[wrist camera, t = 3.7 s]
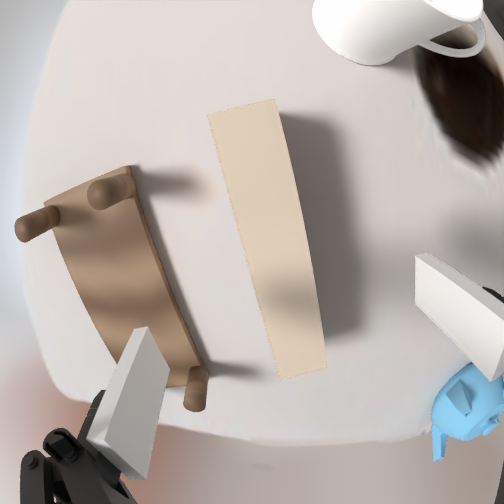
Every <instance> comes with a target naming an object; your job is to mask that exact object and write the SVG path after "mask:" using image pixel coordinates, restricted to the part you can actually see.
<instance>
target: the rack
mask: <svg viewBox="0 0 504 504" xmlns="http://www.w3.org/2000/svg"><path fill="white" fill-rule="evenodd" d="M44 205H45V207H44V208H42V209H39V210H37V211H34V212H32V213H29V214H27V215H25V216H22V217H20V218H18V219H17V220H16V222H15V233H16V236H17V238H18V239H19V240H20V241H21V242H24V243H25V242H28V241H30V240H31V239H33V238H35V237H37V236H39V235H41V234H42V233H44V232H46V231H48V230H50V229H52V230H53V232H54V235H55V238H56V241H57V243H58V246H59V249H60V251H61V254H62V256H63V259H64V261H65V264H66V266H67V268H68V271H69V273H70V275H71V278H72V280H73V282H74V284H75V287H76V289H77V291H78V293H79V295H80V297H81V299H82V301H83V303H84V306H85V308H86V310H87V312H88V313H89V315H90V317H91V319H92V321H93V323H94V325H95V327H96V329H97V331H98V332H99V334H100V336H101V338H102V340H103V341H104V343H105V345H106V347H107V348H108V350H109V352H110V353H111V355H112V357H113V358H114V360H115V362H116V363H117V364H118V362H119V360H120V358H121V356H122V353H123V351H124V349H125V347H126V345H127V343H128V341H129V339H130V337H131V335H132V333H133V330H134V329H137V328H142V327H147V326H148V328H149V330H150V332H151V334H152V336H153V338H154V340H155V342H156V344H157V346H158V347H159V349H160V351H161V353H162V355H163V357H164V359H165V361H166V363H167V364H168V366H169V368H170V371H169V375H168V379H167V384H166V388H168V387H176V386H184V385H186V391H185V396H184V402H183V405H184V407H185V408H186V409H187V410H189V411H192V412H200V411H203V410H204V409H205V406H206V395H207V385H208V379H209V373H208V370H207V369H206V368H205V366H204V364H203V362H202V360H201V358H200V356H199V354H198V351H197V349H196V347H195V345H194V343H193V340H192V338H191V336H190V334H189V331H188V329H187V327H186V325H185V322H184V320H183V318H182V315H181V313H180V310H179V308H178V306H177V303H176V301H175V298H174V296H173V293H172V291H171V288H170V286H169V283H168V281H167V278H166V275H165V273H164V270H163V268H162V265H161V262H160V260H159V257H158V254H157V251H156V249H155V246H154V243H153V240H152V237H151V234H150V231H149V228H148V226H147V223H146V220H145V217H144V213H143V210H142V207H141V204H140V201H139V198H138V195H137V191H136V183H135V180H134V179H133V177H132V175H131V171H130V168H129V165H128V166H123V167H121V168H118V169H116V170H113V171H111V172H108V173H106V174H104V175H101V176H99V177H97V178H94V179H92V180H90V181H87V182H85V183H83V184H81V185H78V186H76V187H74V188H72V189H70V190H68V191H66V192H63V193H61V194H59V195H57V196H55V197H53V198H51V199H49V200H47V201H45V202H44Z"/></svg>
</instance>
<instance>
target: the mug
mask: <svg viewBox="0 0 504 504" xmlns="http://www.w3.org/2000/svg"><path fill="white" fill-rule="evenodd" d="M482 12H483V0H316V1H315V3H314V6H313V11H312V15H313V21H314V25H315V27H316V29H317V31H318V33H319V35H320V36H321V38H322V39H323V40H324V41H325V42H326V44H327V45H328V46H329V47H331V48H332V49H333V50H334V51H335V52H337V53H338V54H340V55H341V56H343V57H345V58H346V59H348V60H351V61H353V62H356V63H359V64H363V65H382V64H385V63H388V62H390V61H391V60H393V59H394V58H395V57H396V56H397V55H398V54H400V53H401V52H403V51H405V50H408V49H410V48H412V47H414V46H416V45H420V46H422V47H424V48H427V49H429V50H431V51H434V52H437V53H440V54H443V55H447V56H452V57H470V56H474V55H476V54H478V53H479V52H480V51H481V50H482V49H483V48H484V46H485V43H486V31H485V28H484V25H483V23H482V21H481V19H480V17H481V15H482ZM469 23H470V24H471V25H472V26H473V28H474V29H475V31H476V33H477V37H478V41H477V44H476V45H475V46H474V47H472V48H469V49H452V48H448V47H444V46H441V45H438V44H436V43H434V42H432V41H430V40H429V39H432V38H434V37H436V36H439V35H441V34H443V33H446V32H448V31H451V30H453V29H456V28H458V27H461V26H463V25H466V24H469Z"/></svg>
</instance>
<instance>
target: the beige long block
mask: <svg viewBox="0 0 504 504" xmlns="http://www.w3.org/2000/svg"><path fill="white" fill-rule="evenodd" d="M207 117H208V121H209V124H210V128H211V132H212V136H213V139H214V143H215V147H216V151H217V154H218V158H219V162H220V166H221V169H222V173H223V177H224V180H225V184H226V188H227V192H228V195H229V199H230V203H231V206H232V210H233V214H234V217H235V221H236V225H237V228H238V232H239V236H240V239H241V243H242V247H243V250H244V254H245V257H246V261H247V265H248V268H249V272H250V276H251V279H252V283H253V286H254V290H255V294H256V297H257V301H258V304H259V308H260V311H261V315H262V319H263V322H264V326H265V329H266V333H267V336H268V340H269V343H270V347H271V351H272V354H273V358H274V361H275V365H276V368H277V372H278V375H279V379H280V380H284V379H288V378H292V377H296V376H300V375H304V374H308V373H311V372H315V371H319V370H322V369H326V368H328V367H327V359H326V351H325V344H324V337H323V330H322V323H321V316H320V310H319V304H318V297H317V291H316V285H315V279H314V274H313V268H312V262H311V257H310V251H309V246H308V241H307V236H306V230H305V225H304V220H303V215H302V211H301V206H300V201H299V196H298V192H297V187H296V183H295V178H294V174H293V169H292V165H291V161H290V157H289V152H288V148H287V144H286V140H285V136H284V132H283V128H282V124H281V120H280V116H279V112H278V109H277V105H276V101H275V99H272V100H267V101H262V102H257V103H253V104H248V105H244V106H240V107H236V108H232V109H228V110H224V111H220V112H216V113H212V114H209V115H207Z"/></svg>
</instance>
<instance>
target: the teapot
mask: <svg viewBox="0 0 504 504" xmlns="http://www.w3.org/2000/svg"><path fill="white" fill-rule="evenodd" d="M503 374H504V372H503ZM503 409H504V382H503V378H502V375H501V376H499V377H498V378H496V379H495V380H494V381H492V382H491V383H490V381H489V380H488V379H487V378H486V377H485V376H484V375H483V373H482V372H481V371H480V370H479V369H478V368H477V367H476V366H475V365H474V364H473V363H471V364H469V365H467V366H466V367H464V368H463V369H462V370H460V371H459V372H458V373H457V374H455V375H454V376H453V377H452V378H451V379H450V380H449V381H448V382H447V383H446V384H445V386H444V387H443V388H442V389H441V391H440V392H439V393H438V395H437V397H436V399H435V401H434V404H433V408H432V413H431V420H432V422H433V424H432V426H431V428H432V440H433V458H434V462H437V461H438V460H440V459H442V458H443V457H444V453H445V447H446V442H447V436H451V437H453V438H456V439H460V440H464V441H468V440H472V439H474V438H475V437H477V436H479V435H480V434H481V433H482V434H483V436H485V435H487V434H489V433H490V432H491V431H492V430H493V429H494V428H495V427H496V426H497V425H498V424H499V423H500V422H499V420H498V419H497V418H498V417H499V415H500V414H501V413H502V411H503Z"/></svg>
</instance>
